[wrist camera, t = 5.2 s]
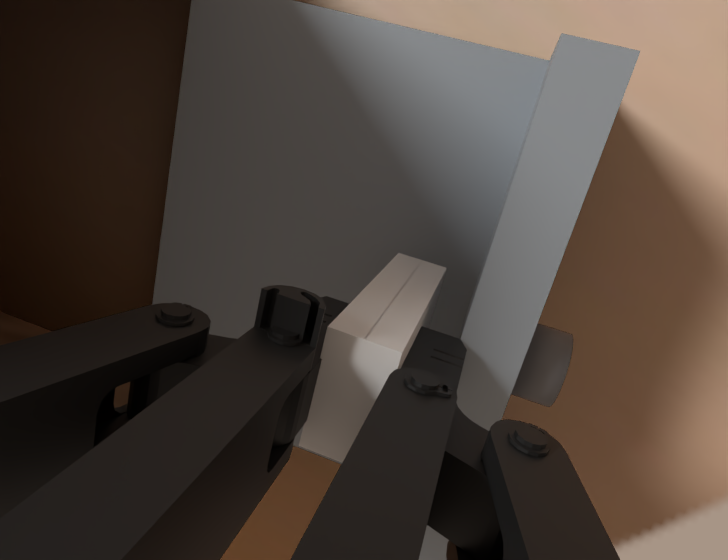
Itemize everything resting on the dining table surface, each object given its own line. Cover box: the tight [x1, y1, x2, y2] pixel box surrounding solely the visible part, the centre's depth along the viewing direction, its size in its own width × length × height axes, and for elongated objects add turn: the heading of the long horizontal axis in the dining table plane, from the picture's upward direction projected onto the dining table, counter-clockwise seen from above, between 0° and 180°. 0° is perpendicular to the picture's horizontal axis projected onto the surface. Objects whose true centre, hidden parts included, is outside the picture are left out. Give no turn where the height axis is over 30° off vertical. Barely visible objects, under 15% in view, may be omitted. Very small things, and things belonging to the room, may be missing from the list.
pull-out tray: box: [152, 0, 640, 560], centre depth 17 cm, size 14×15×6 cm
